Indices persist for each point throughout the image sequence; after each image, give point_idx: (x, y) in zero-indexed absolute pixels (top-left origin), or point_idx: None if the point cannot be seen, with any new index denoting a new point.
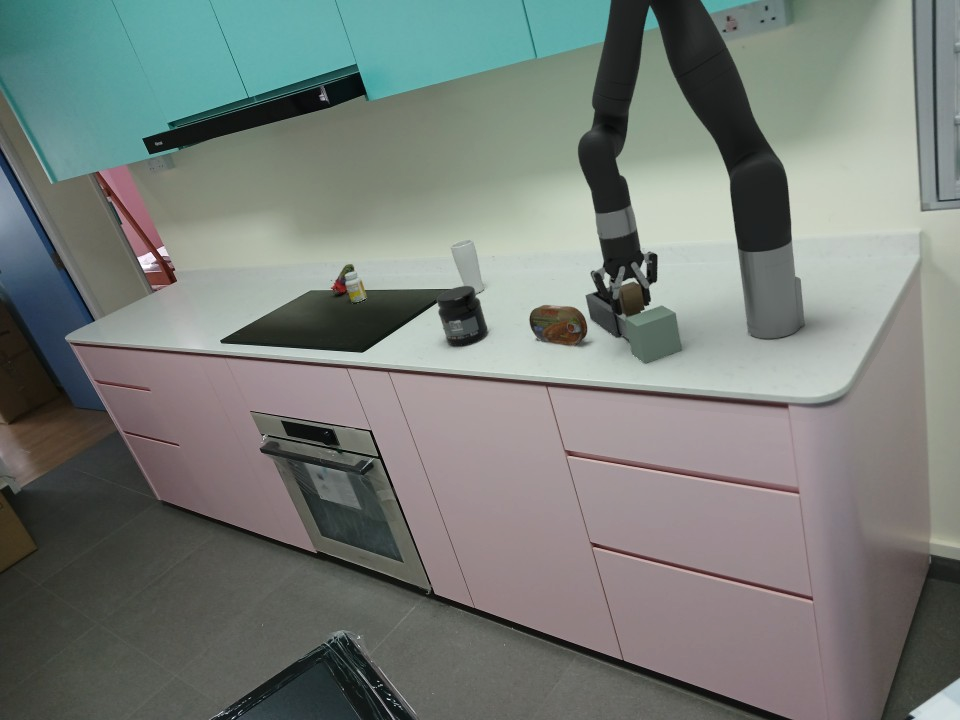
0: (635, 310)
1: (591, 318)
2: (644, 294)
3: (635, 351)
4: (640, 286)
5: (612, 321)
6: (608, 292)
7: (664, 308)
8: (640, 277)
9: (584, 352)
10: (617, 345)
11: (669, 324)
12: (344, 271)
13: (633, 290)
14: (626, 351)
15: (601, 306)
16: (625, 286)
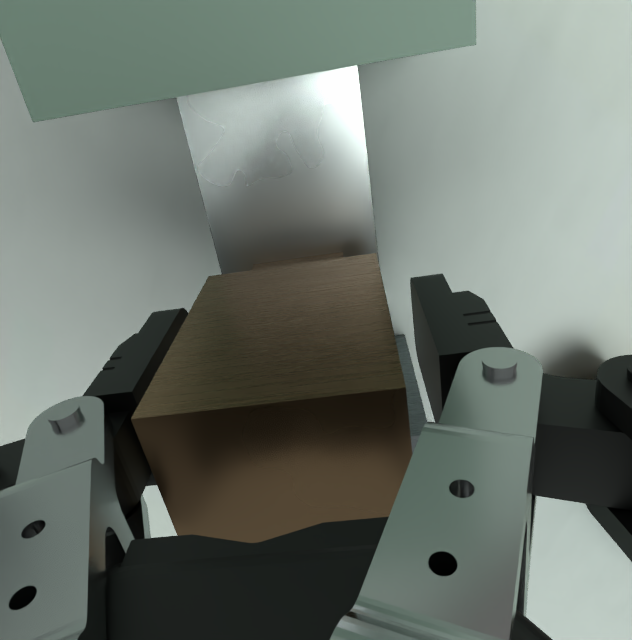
0: (290, 273)
1: None
2: (148, 363)
3: None
4: (140, 407)
5: (419, 396)
6: (587, 449)
7: (12, 3)
8: (60, 494)
9: (619, 272)
10: (434, 241)
11: None
12: None
13: (246, 382)
14: (422, 124)
15: None
16: (312, 501)
